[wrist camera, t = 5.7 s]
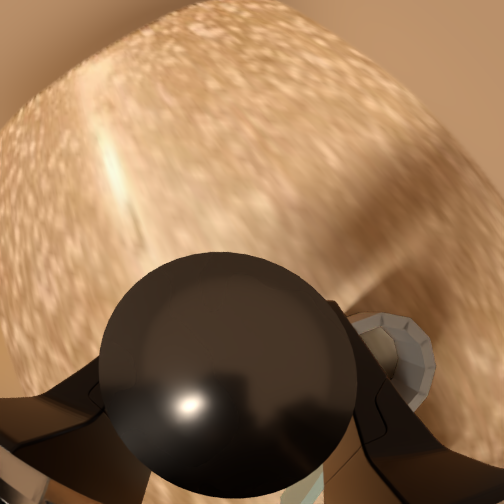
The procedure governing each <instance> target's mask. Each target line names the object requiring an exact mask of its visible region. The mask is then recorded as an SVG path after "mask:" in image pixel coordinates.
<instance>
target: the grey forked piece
mask: <svg viewBox="0 0 504 504" xmlns="http://www.w3.org/2000/svg"><path fill="white" fill-rule="evenodd" d="M347 318H348V320H349V321H350V323H351V324H352V325H353V327H354V328H355V330H356V331H357V333H358V334H362V333H365V332H367V331H370V330H373V329H375V328H378V327H381V328H382V329H384V330H385V331H386V332H387V333H388V334H389V335H390V336H391V337H392V338H393V339H394V342H395V346H396V350H397V354H398V362H397V365H396V369H395V373H394V376H393V378H392V379H391V382H392V384H393V385H394V387H395V388H396V390H397V391H398V392H399V394H400V395H401V397H402V398H403V399H404V401H405V402H406V403H407V404H408V406H409V407H410V408H411V409H412V411H413V412H414V411H415V410H416V409H417V408H418V407H419V406H420V405H421V403H422V402H423V401H424V400H425V399H426V398H427V396H428V393H429V390H430V387H431V383H432V380H433V376H434V372H435V369H436V367H435V366H436V364H435V359H434V354H433V349H432V344H431V340H430V337H429V336H428V335H427V334H426V333H425V332H424V331H423V330H422V329H421V328H420V327H419V326H418V325H417V324H416V323H415V322H414V321H413V320H412V319H411V318H408V317H403V316H398V315H393V314H388V313H383V312H360V313H357V314H354V315H351V316H349V317H347ZM323 489H324V481H323V464H322V465H321V466H320V467H319V468H318V469H316V470H315V471H314V472H312V473H311V474H310V475H308V476H307V477H306V478H304V479H303V480H301V481H299V482H297V483H295V484H294V485H292V486H290V487H287V489H286V490H285V492H284V493H283V495H282V496H281V502H280V504H313V503H314V502H315V500H316V499H317V497H318V496H319V495H320V493H321V492H322V490H323Z"/></svg>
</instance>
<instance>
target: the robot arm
mask: <svg viewBox="0 0 504 504" xmlns="http://www.w3.org/2000/svg"><path fill="white" fill-rule="evenodd" d="M326 301H327V303H328V304H329V305H330V306H331V308H332V309H333V310H334V312H335V313H336V314H337V316H338V318H339V320H340V321H341V323H342V325H343V327H344V329H345V330H346V333H347V335H348V338H349V341H350V343H351V346H352V349H353V353H354V358H355V362H356V370H357V394H356V402H355V406H354V411H353V415H352V418H351V421H350V423H349V426H348V428H347V431H346V433H345V434H344V436H343V438H342V440H341V441H340V443H339V445H338V446H337V448H336V449H335V450H334V451H333V453H332V454H331V455H330V457H329V458H328V459H327V460H326V461H325V462H324V463H323V481H324V504H504V469H502V468H498V467H494V466H491V465H489V464H486V463H483V462H480V461H477V460H475V459H472V458H469V457H467V456H464V455H462V454H459V453H457V452H454V451H452V450H450V449H448V448H446V447H445V446H444V445H442V444H441V443H440V442H439V441H438V440H437V439H436V438H435V437H434V436H433V434H432V433H431V432H430V431H429V430H428V428H427V427H426V426H425V425H424V424H423V422H422V421H421V420H420V419H419V418H418V417H417V415H416V414H415V413H414V412H413V411H412V409H411V408H410V407H409V406H408V404H407V403H406V402H405V401H404V399H403V398H402V397H401V395H400V394H399V392H398V391H397V390H396V388H395V387H394V385H393V384H392V382H391V381H390V379H389V378H387V375H386V373H385V372H384V370H383V369H382V367H381V366H380V365H379V363H378V362H377V360H376V359H375V357H374V356H373V354H372V353H371V351H370V350H369V348H368V347H367V346H366V344H365V343H364V341H363V340H362V338H361V337H360V335H359V334H358V333H357V331H356V330H355V328H354V327H353V325H352V324H351V323H350V321H349V320H348V318H347V317H346V316H345V314H344V313H343V311H342V310H341V308H340V307H339V306H338V304H337V303H336V302H335V301H332V300H326ZM150 474H151V470H150V469H149V468H147V467H146V466H145V465H144V464H143V463H142V462H140V461H139V460H138V459H137V458H136V457H135V455H134V454H133V453H132V452H131V451H130V450H129V449H128V448H127V446H126V445H125V444H124V442H123V441H122V440H121V438H120V437H119V435H118V433H117V432H116V430H115V428H114V427H113V425H112V423H111V421H110V418H109V416H108V414H107V411H106V409H105V405H104V402H103V398H102V395H101V389H100V382H99V356H98V357H96V358H95V359H94V360H92V361H91V362H90V363H89V364H87V365H86V366H84V367H83V368H82V369H80V370H79V371H77V372H76V373H74V374H73V375H71V376H70V377H68V378H67V379H65V380H64V381H62V382H61V383H59V384H58V385H56V386H55V387H53V388H52V389H50V390H48V391H47V392H45V393H43V394H41V395H38V396H33V397H21V398H0V504H142V501H143V497H144V494H145V491H146V487H147V484H148V481H149V477H150Z"/></svg>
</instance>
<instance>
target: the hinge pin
mask: <svg viewBox="0 0 504 504" xmlns="http://www.w3.org/2000/svg"><path fill="white" fill-rule="evenodd" d="M99 382H100V389H101V395H102V398H103V402H104V405H105V409H106V411H107V414H108V416H109V418H110V421H111V423H112V425H113V427H114V428H115V430H116V432H117V433H118V435H119V437H120V438H121V440H122V441H123V442H124V444H125V445H126V446H127V448H128V449H129V450H130V451H131V452H132V453H133V454H134V455H135V457H136V458H137V459H138V460H139V461H140V462H142V463H143V464H144V465H145V466H146V467H147V468H149V469H150V470H151V471H152V472H154V473H155V474H157V475H158V476H160V477H161V478H163V479H165V480H166V481H168V482H170V483H172V484H174V485H176V486H178V487H181V488H183V489H186V490H188V491H191V492H194V493H198V494H202V495H206V496H211V497H218V498H250V497H258V496H263V495H267V494H271V493H274V492H277V491H280V490H282V489H285V488H287V487H290V486H292V485H294V484H295V483H297V482H299V481H301V480H303V479H304V478H306V477H307V476H308V475H310V474H311V473H312V472H314V471H315V470H316V469H318V468H319V467H320V466H321V465H322V464H323V463H324V462H325V461H326V460H327V459H328V458H329V457H330V455H331V454H332V453H333V451H334V450H335V449H336V448H337V446H338V445H339V443H340V441H341V440H342V438H343V436H344V434H345V433H346V431H347V428H348V426H349V423H350V421H351V418H352V415H353V411H354V406H355V402H356V394H357V370H356V362H355V358H354V353H353V349H352V346H351V343H350V341H349V338H348V335H347V333H346V330H345V329H344V327H343V325H342V323H341V321H340V320H339V318H338V316H337V314H336V313H335V312H334V310H333V309H332V308H331V306H330V305H329V304H328V303H327V301H326V300H325V299H324V298H323V297H322V296H321V295H320V294H319V293H318V292H317V291H316V290H315V289H314V288H313V287H312V286H311V285H309V284H308V283H307V282H305V281H304V280H303V279H301V278H300V277H299V276H297V275H296V274H294V273H292V272H291V271H289V270H287V269H285V268H284V267H282V266H279V265H277V264H275V263H272V262H270V261H267V260H265V259H261V258H258V257H254V256H250V255H246V254H239V253H231V252H208V253H201V254H194V255H190V256H186V257H182V258H179V259H176V260H173V261H171V262H169V263H166V264H164V265H162V266H160V267H158V268H157V269H155V270H153V271H152V272H150V273H148V274H147V275H146V276H144V277H143V278H142V279H141V280H139V281H138V282H137V283H136V284H135V285H134V286H133V287H132V288H131V289H130V290H129V291H128V292H127V293H126V294H125V295H124V297H123V298H122V299H121V301H120V302H119V304H118V305H117V306H116V308H115V310H114V312H113V313H112V315H111V317H110V319H109V321H108V324H107V326H106V329H105V332H104V334H103V339H102V343H101V347H100V355H99Z"/></svg>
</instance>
